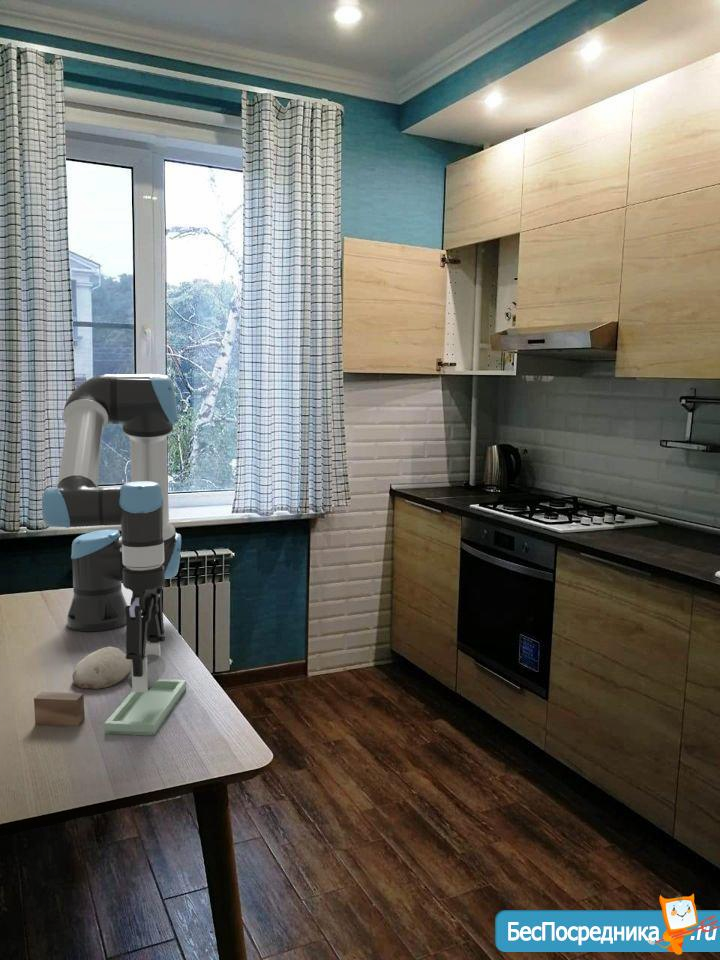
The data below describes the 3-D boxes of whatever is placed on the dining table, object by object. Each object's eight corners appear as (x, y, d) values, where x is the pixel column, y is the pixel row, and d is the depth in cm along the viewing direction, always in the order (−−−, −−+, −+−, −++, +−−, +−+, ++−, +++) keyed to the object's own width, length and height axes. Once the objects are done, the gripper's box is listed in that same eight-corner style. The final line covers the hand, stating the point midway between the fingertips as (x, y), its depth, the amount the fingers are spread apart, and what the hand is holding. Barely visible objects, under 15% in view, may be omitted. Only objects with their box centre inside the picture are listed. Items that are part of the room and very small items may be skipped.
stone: (95, 711, 157) (111, 685, 154) (57, 681, 158) (73, 654, 155) (129, 681, 169) (145, 656, 166) (95, 654, 170) (110, 628, 167)
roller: (164, 678, 150) (165, 655, 149) (153, 693, 143) (153, 669, 142) (140, 676, 150) (141, 653, 149) (127, 691, 143) (128, 666, 142)
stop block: (43, 717, 144) (41, 691, 143) (84, 718, 143) (83, 693, 143) (35, 724, 141) (33, 698, 140) (77, 726, 140) (76, 700, 140)
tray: (142, 687, 157) (142, 678, 157) (186, 689, 157) (186, 680, 157) (104, 733, 138) (104, 723, 137) (154, 735, 137) (153, 725, 137)
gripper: (141, 552, 153) (145, 663, 156) (102, 578, 133) (107, 704, 137) (179, 553, 153) (181, 664, 156) (145, 579, 133) (149, 706, 136)
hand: (147, 682), depth 146 cm, fingers closed on roller, 7 cm apart
